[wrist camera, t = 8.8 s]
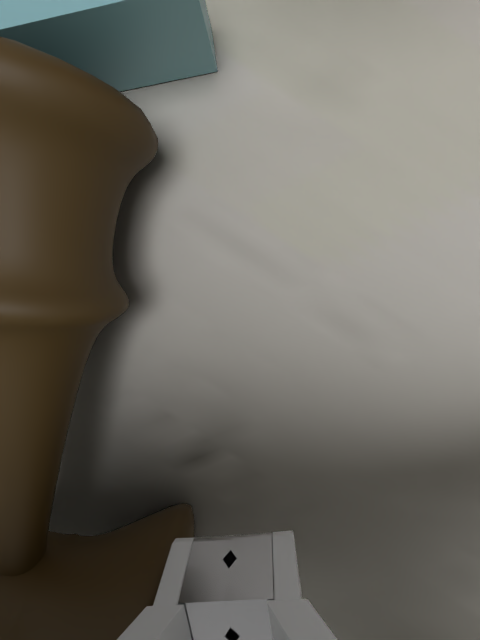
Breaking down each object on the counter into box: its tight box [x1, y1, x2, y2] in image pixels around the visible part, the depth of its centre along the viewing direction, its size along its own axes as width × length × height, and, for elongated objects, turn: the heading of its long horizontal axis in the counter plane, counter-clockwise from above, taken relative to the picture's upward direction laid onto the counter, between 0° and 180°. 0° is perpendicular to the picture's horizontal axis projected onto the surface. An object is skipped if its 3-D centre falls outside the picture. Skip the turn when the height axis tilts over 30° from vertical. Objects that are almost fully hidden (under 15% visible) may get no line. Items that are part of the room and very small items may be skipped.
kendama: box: [0, 37, 194, 640], centre depth 9 cm, size 6×10×20 cm
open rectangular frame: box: [0, 0, 217, 92], centre depth 10 cm, size 15×26×3 cm, turn 9°
